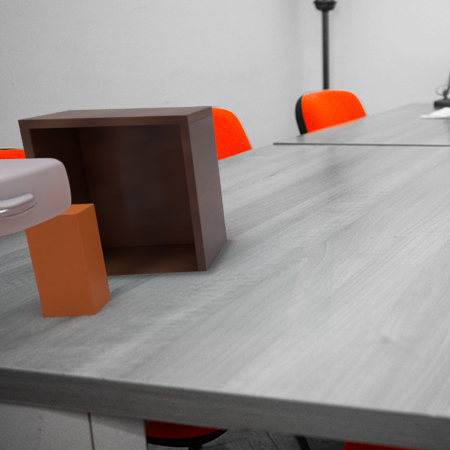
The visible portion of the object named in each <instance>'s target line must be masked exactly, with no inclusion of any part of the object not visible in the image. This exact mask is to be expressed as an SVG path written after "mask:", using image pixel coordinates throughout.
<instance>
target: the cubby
mask: <svg viewBox="0 0 450 450" xmlns="http://www.w3.org/2000/svg"><path fill="white" fill-rule="evenodd" d="M213 112H214V111H213V106H212V105H204V106H203V105H201V106H169V107H166V106H165V107H164V106H163V107H135V108H133V107H131V108H99V109H98V108H97V109H67V110H62V111H58V112H52V113H47V114H42V115H37V116H32V117H26V118H21V119H18V120H17V123H18V128H19V133H20V134H19V135H20V139H21V144H22V149H23V152H24V157H25V158H24V159H35V158H52V159H56V160H58V161H60V162H61V163H62V164H63V165H64V167H65V169H66V173H67V176H68V181H69V186H70V192H71V205H74V204H94V208H95V213H96V219H97V224H98V230H99V235H100V241H101V246H102V252H103V257H104V263H105V269H106V274H107V277H115V276H116V277H118V276H119V277H120V276H138V275H159V274H179V273H201V272H207V271H209V269H210V267H211V266H212V264H213V262H214V261H215V259H216V258H217V257H218V255H219V254H220V252H221V251H222V249H223V248H224V247H225V245H226V243H227V242H228V237H227V227H226V220H225V219H226V218H225V211H224V202H223V193H222V185H221V176H220V166H219V158H218V149H217V139H216V132H215V131H216V130H215V123H214V115H213Z"/></svg>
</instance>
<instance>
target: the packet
mask: <svg viewBox="0 0 450 450" xmlns="http://www.w3.org/2000/svg"><path fill="white" fill-rule="evenodd" d="M24 232H25V237H26V242H27V247H28V250H29V254H30V255H29V256H30V260H31V264H32V269H33V274H34V278H35V283H36V287H37V292H38V296H39V301H40V305H41V310H42V315H43V318H46V319H47V318H63V317H81V316H82V317H83V316H96V315H97V314H98V313H99V312H100V311H101V310H102V309H103V308H104V307H105V306H106V305H107V304H108V303H109V302H110V301H111V300H112V298H111V291H110V285H109V281H108V276H107V274H106V269H105V263H104V257H103V252H102V246H101V241H100V235H99V230H98V224H97V219H96V213H95V208H94V204H74V205H71V206H70V208H69V209H68V210H67V211H66V212H64V213H62V214H60V215H58V216H56V217H54V218H51V219H49V220H47V221H44V222H42V223H40V224H37V225H35V226H32V227H30V228H27V229H24Z"/></svg>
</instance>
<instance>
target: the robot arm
mask: <svg viewBox="0 0 450 450" xmlns="http://www.w3.org/2000/svg"><path fill="white" fill-rule="evenodd" d="M70 206H71V192H70V186H69V181H68V176H67V173H66V169H65V167H64V165H63V164H62V163H61V162H60V161H58V160H56V159H52V158H35V159H26V158H5V159H3V158H1V159H0V237H4V236H7V235H11V234H15V233H18V232H21V231H25V229H27V228H30V227H32V226H35V225H37V224H40V223H42V222H44V221H47V220H49V219H51V218H54V217H56V216H58V215H60V214H62V213H64V212H66V211H67V210H68V209H69V208H70Z"/></svg>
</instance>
